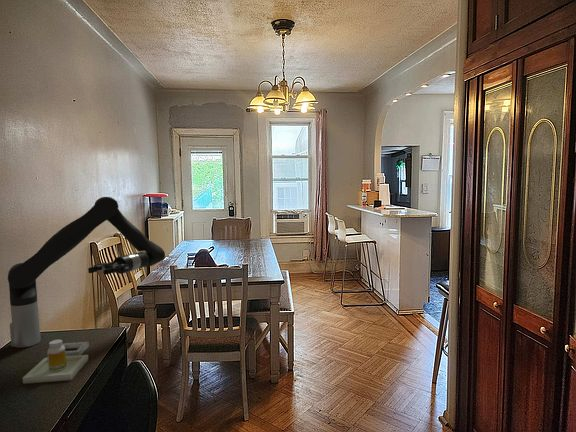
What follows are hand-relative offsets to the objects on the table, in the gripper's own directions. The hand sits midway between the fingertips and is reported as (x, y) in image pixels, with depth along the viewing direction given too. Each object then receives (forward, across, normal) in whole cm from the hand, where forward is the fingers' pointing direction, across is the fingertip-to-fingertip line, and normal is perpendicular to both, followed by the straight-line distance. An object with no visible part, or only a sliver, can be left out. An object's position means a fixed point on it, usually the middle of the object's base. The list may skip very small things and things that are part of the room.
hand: (96, 271), depth 158 cm
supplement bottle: (+23, +5, +29) cm, 37 cm away
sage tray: (+23, +5, +30) cm, 38 cm away
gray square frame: (+10, -5, +30) cm, 32 cm away
